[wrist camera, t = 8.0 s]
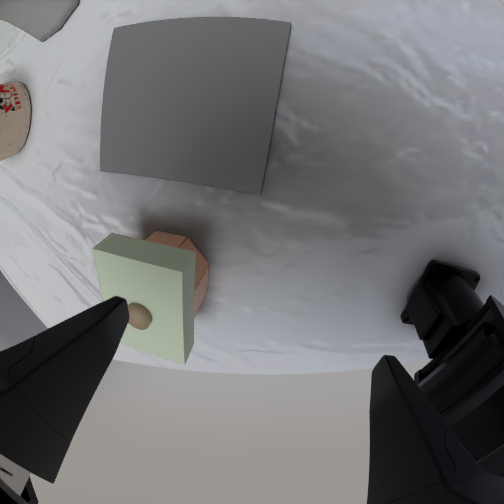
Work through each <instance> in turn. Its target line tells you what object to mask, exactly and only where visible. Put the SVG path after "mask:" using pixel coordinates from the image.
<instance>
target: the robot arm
mask: <svg viewBox="0 0 504 504" xmlns="http://www.w3.org/2000/svg"><path fill="white" fill-rule="evenodd" d="M433 266H435V267H434V268H433ZM479 280H480V275H479V274H478V273H477V272H474V271H471V270H467V269H464V268H460V267H457V266H454V265H450V264H447V263H443V262H440V261H436V260H433V261H431V262H430V263H429V265H428V267H427V269H426V271H425V273H424V275H423V277H422V279H421V281H420V283H419V284H418V286H417V288H416V290H415V292H414V294H413V295H412V297H411V299H410V301H409V303H408V304H407V307H406V309H405V310H404V312H403V314H402V315H401V321H402V322H403V323H405V324H412V325H414V326H415V328H416V331H417V333H418V336H419V339H420V340H423V343H424V345H425V348H426V351H427V354H428V357H429V358H430V359H432V360H431V361H430V362H429V363H428V364H427V365H426V366H425V367H424V368H422V369H421V370H419V371H417V372H416V373H415V376H414V380H413V379H412V377H411V376H410V375H409V374H408V372H407V371H406V370H405V368H404V367H403V366H402V365H401V363H400V362H399V361H398V360H397V358H396V357H395V356H390V355H384V356H383V357H382V358H381V359H380V361H379V362H378V363H377V365H376V366H375V367H374V369H373V371H372V380H371V397H370V465H369V484H368V498H367V504H504V305H502V304H501V303H500V302H499V301H498V300H496V299H495V298H494V297H493V296H492V295H490V296H489V298H488V299H487V300H486V301H487V302H486V303H485V304H483V303H482V301H481V300H480V298H479V297H478V295H477V294H476V293H475V291H474V289H475V288H476V286H477V284H478V282H479ZM406 317H407V318H406ZM129 318H130V315H129V310H128V304H127V300H126V299H125V298H122V297H119V296H114V297H112V298H110V299H107V300H105V301H103V302H101V303H99V304H97V305H95V306H93V307H91V308H89V309H87V310H85V311H83V312H81V313H79V314H77V315H75V316H73V317H71V318H69V319H67V320H65V321H63V322H61V323H59V324H57V325H55V326H53V327H51V328H49V329H47V330H45V331H43V332H41V333H39V334H37V336H33V337H31V338H29V339H27V340H25V341H23V342H21V343H19V344H17V345H15V346H12V347H10V348H8V349H5V350H3V351H0V504H38V499H37V497H36V494H35V492H34V488H33V486H32V483H31V480H30V474H31V473H33V474H35V475H36V476H39V477H40V478H42V479H44V480H46V481H48V482H50V483H54V481H55V479H56V477H57V474H58V472H59V469H60V467H61V464H62V462H63V459H64V457H65V455H66V452H67V450H68V448H69V445H70V443H71V441H72V438H73V436H74V434H75V432H76V430H77V427H78V425H79V423H80V421H81V419H82V417H83V415H84V413H85V411H86V409H87V407H88V404H89V403H90V400H91V399H92V397H93V395H94V393H95V391H96V389H97V387H98V385H99V383H100V381H101V379H102V377H103V376H104V374H105V372H106V370H107V368H108V366H109V364H110V363H111V361H112V359H113V357H114V355H115V353H116V350H117V348H118V345H119V343H120V341H121V338H122V336H123V334H124V331H125V329H126V327H127V324H128V322H129Z"/></svg>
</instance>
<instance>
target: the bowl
mask: <svg viewBox="0 0 504 504" xmlns="http://www.w3.org/2000/svg"><path fill="white" fill-rule="evenodd" d="M145 241H150V242H154V243H159V244H163V245H167V246H172V247H176V248H181V249H185V250H190V251H194V252H196V265H195V292H194V318H195V316H196V314H197V311H198V309H199V307H200V305H201V303H202V301H203V299H204V297H205V295H206V293H207V291H208V278H209V266H210V264H209V263H208V261H207V260H206V259H205V258H204V257H203V255H202V254H201V253H200V252H199V251H198V249H197V248H196V247H195V246H194V244H193V243H192V242H191V241H190V240H189V238H187V237H185V236H180V235H176V234H171V233H166V232H162V231H157V230H156V231H154V232H153V233H152V234H151V235H149V236H148V237H147V238H146V239H145Z"/></svg>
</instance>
